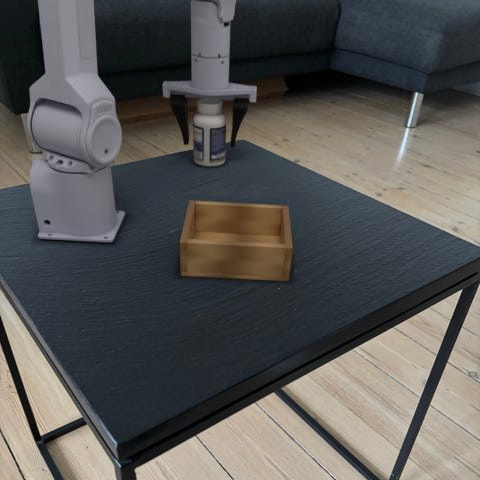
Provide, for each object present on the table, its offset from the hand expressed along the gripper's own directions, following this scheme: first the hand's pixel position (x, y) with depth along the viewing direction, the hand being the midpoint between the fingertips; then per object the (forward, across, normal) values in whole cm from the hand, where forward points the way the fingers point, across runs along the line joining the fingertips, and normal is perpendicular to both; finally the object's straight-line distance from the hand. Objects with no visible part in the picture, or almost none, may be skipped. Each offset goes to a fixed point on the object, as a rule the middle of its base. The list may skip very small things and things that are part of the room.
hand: (209, 144), depth 86 cm
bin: (+3, -6, +30) cm, 31 cm away
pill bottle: (+3, 0, 0) cm, 3 cm away
